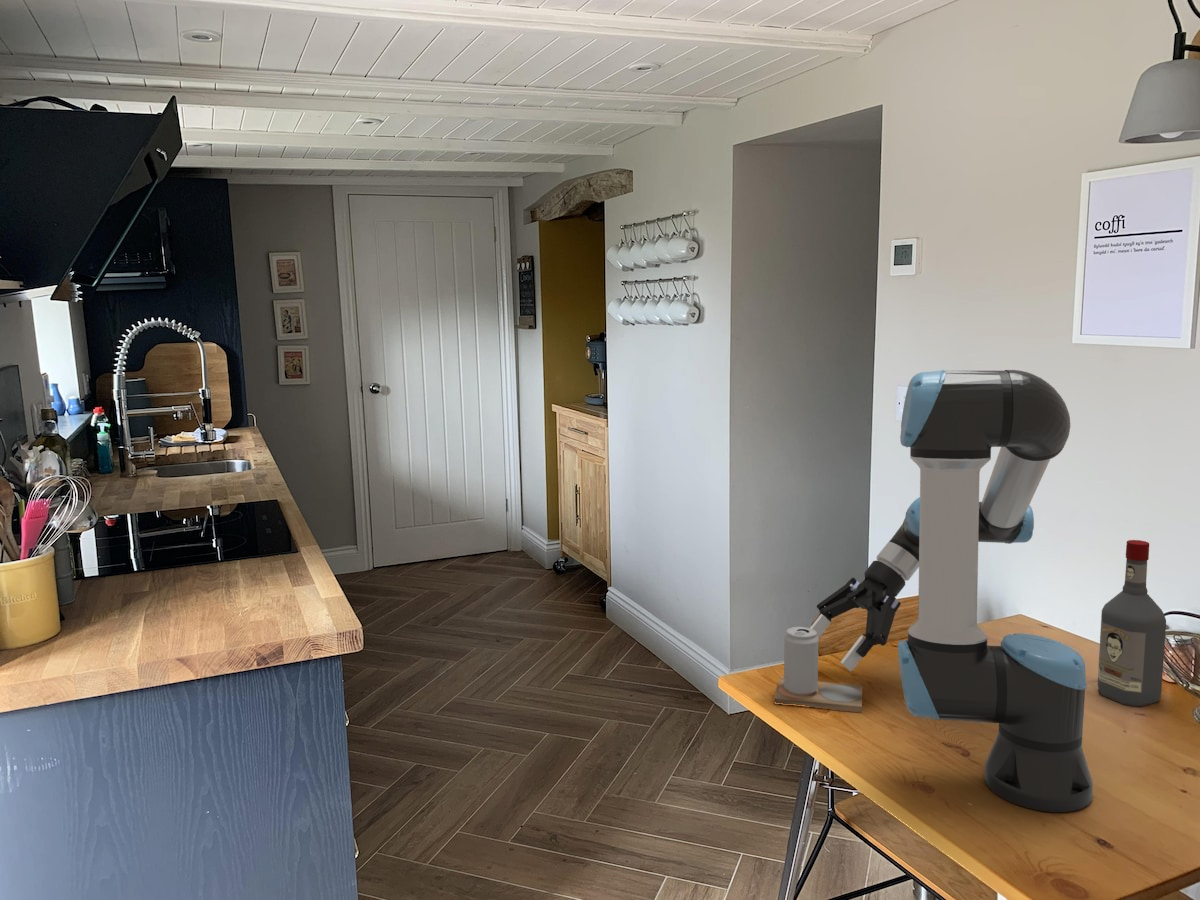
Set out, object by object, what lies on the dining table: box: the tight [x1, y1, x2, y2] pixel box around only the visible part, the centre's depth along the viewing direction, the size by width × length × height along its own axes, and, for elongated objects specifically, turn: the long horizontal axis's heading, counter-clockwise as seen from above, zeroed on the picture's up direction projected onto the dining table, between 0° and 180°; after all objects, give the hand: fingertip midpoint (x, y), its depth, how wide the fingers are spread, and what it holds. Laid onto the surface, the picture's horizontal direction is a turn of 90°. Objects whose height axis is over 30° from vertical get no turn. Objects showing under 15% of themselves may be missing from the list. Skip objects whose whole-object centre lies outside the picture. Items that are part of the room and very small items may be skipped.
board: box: [774, 677, 864, 714], centre depth 176 cm, size 10×16×1 cm, turn 73°
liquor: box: [1097, 539, 1167, 708], centre depth 171 cm, size 9×9×30 cm
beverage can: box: [783, 626, 819, 696], centre depth 176 cm, size 6×6×12 cm
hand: (825, 654), depth 178 cm, fingers open, 13 cm apart
